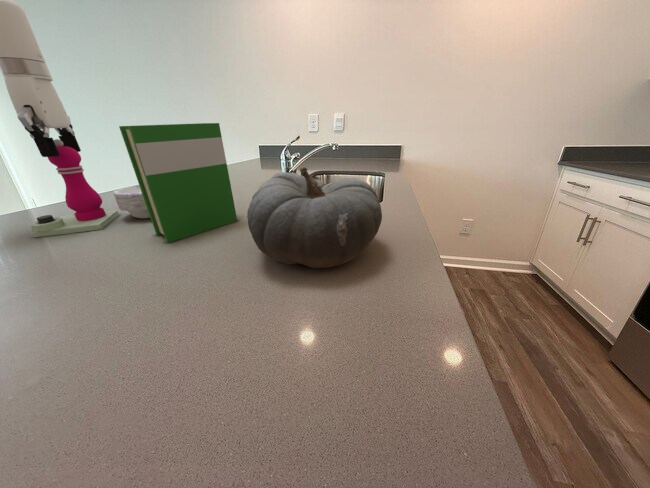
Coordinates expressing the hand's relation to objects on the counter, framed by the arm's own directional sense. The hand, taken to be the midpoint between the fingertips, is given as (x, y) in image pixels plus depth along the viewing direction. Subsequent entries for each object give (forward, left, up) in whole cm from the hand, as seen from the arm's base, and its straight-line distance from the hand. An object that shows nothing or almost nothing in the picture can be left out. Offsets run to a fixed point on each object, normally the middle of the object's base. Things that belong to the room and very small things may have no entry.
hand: (63, 154), depth 64 cm
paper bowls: (+15, +1, -18) cm, 23 cm away
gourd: (+54, -39, -18) cm, 68 cm away
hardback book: (+29, -16, -18) cm, 37 cm away
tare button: (-7, -5, -15) cm, 18 cm away
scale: (-2, -2, -18) cm, 18 cm away
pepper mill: (0, 0, -17) cm, 17 cm away
